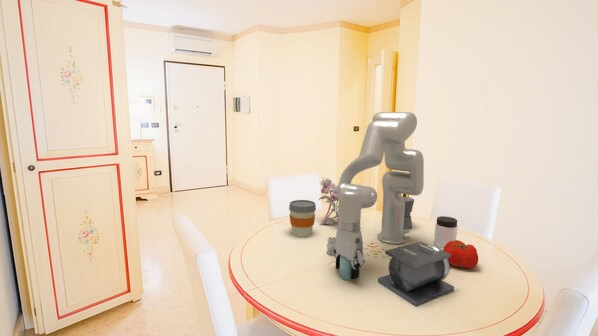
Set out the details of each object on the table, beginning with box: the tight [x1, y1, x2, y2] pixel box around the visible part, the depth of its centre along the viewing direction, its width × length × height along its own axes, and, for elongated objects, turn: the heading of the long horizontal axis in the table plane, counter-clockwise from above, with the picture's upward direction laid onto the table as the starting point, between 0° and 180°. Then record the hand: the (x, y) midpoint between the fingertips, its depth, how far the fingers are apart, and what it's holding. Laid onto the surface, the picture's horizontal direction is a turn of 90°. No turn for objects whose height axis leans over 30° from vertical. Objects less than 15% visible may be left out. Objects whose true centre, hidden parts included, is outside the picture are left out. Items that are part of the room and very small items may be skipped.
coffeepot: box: [402, 194, 415, 231], centre depth 164 cm, size 15×9×18 cm, turn 162°
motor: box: [377, 240, 455, 307], centre depth 106 cm, size 18×16×13 cm
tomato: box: [442, 239, 479, 269], centre depth 123 cm, size 13×12×8 cm
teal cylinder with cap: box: [339, 255, 356, 281], centre depth 112 cm, size 5×5×9 cm
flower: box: [318, 176, 339, 226], centre depth 165 cm, size 20×22×25 cm
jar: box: [433, 215, 458, 249], centre depth 142 cm, size 9×8×12 cm
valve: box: [326, 236, 336, 257], centre depth 131 cm, size 7×7×12 cm
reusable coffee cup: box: [288, 199, 317, 238], centre depth 152 cm, size 13×13×15 cm
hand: (346, 273), depth 113 cm, fingers open, 7 cm apart
